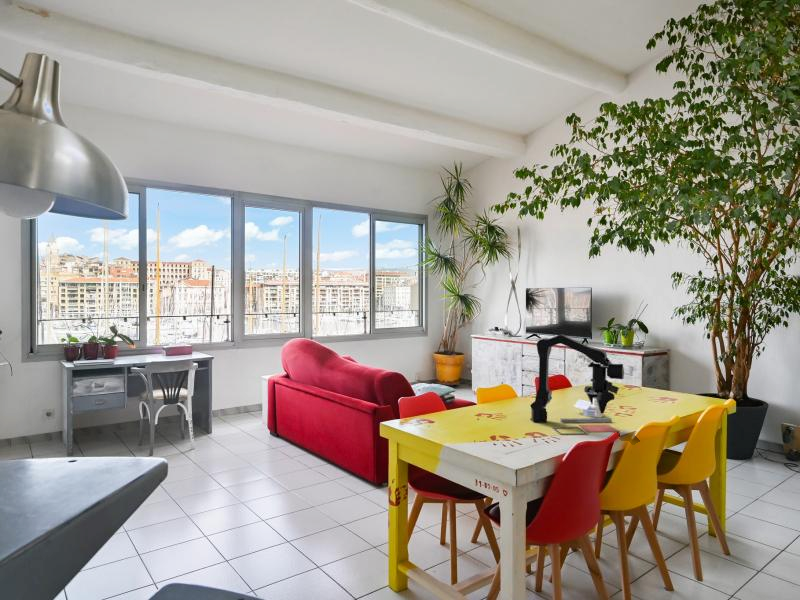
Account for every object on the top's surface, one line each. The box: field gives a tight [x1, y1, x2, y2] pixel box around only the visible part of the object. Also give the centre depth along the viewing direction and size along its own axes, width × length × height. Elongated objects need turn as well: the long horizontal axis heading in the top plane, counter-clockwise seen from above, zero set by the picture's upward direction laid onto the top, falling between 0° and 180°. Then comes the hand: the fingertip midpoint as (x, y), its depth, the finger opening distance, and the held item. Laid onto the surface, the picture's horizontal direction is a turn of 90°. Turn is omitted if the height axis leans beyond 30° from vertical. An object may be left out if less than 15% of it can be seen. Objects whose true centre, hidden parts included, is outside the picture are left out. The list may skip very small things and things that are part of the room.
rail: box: [560, 417, 612, 424], centre depth 251 cm, size 24×2×2 cm, turn 93°
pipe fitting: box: [590, 398, 608, 418], centre depth 239 cm, size 6×7×8 cm
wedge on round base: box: [573, 398, 600, 418], centre depth 266 cm, size 9×7×13 cm
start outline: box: [551, 426, 589, 436], centre depth 234 cm, size 12×11×1 cm
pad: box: [578, 423, 621, 433], centre depth 239 cm, size 14×12×1 cm
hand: (598, 411), depth 239 cm, fingers closed on pipe fitting, 7 cm apart
